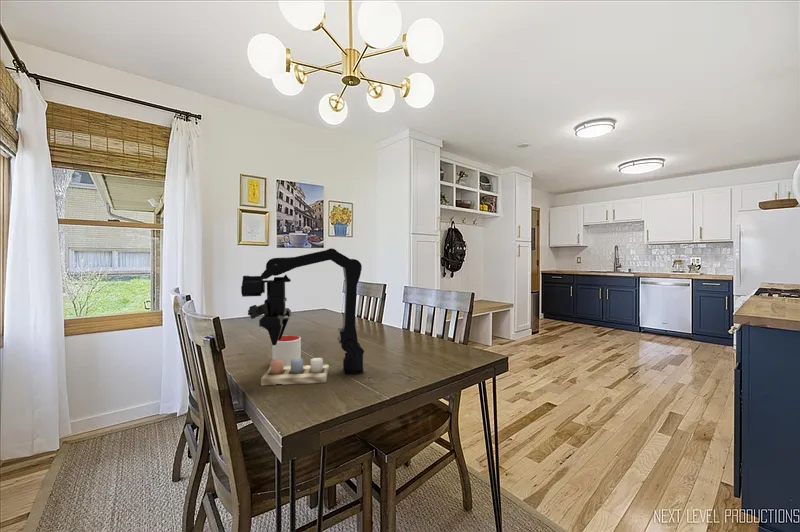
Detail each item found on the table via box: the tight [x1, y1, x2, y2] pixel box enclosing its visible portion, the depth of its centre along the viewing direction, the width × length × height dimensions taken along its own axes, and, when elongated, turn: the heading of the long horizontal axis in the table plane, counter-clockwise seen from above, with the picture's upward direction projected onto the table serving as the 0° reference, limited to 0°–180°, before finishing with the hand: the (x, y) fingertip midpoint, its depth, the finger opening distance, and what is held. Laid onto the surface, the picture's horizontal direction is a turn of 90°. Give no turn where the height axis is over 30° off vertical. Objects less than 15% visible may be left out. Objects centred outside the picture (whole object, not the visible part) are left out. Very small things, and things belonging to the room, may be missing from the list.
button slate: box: [291, 358, 304, 374], centre depth 115 cm, size 4×4×4 cm
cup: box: [271, 335, 302, 366], centre depth 128 cm, size 10×10×10 cm
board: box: [260, 364, 330, 386], centre depth 115 cm, size 20×12×2 cm, turn 97°
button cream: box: [310, 357, 324, 373], centre depth 116 cm, size 4×4×4 cm
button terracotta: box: [269, 359, 283, 375], centre depth 114 cm, size 4×4×4 cm
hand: (276, 342), depth 114 cm, fingers open, 6 cm apart
